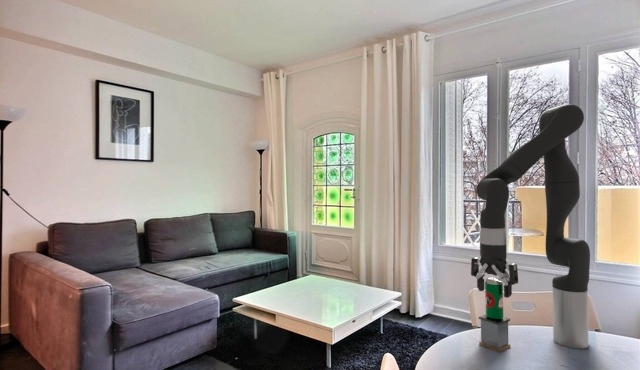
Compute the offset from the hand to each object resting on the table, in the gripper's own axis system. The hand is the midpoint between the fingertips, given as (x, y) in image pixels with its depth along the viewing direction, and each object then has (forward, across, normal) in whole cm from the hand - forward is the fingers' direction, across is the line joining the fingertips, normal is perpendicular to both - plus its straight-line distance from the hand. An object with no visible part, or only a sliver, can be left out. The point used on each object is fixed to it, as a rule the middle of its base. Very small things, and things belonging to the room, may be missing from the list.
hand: (493, 293), depth 113 cm
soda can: (+8, 0, 0) cm, 8 cm away
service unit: (+16, 0, 0) cm, 16 cm away
